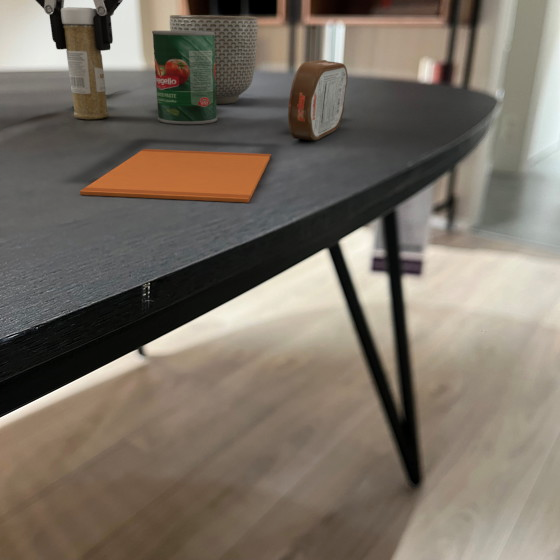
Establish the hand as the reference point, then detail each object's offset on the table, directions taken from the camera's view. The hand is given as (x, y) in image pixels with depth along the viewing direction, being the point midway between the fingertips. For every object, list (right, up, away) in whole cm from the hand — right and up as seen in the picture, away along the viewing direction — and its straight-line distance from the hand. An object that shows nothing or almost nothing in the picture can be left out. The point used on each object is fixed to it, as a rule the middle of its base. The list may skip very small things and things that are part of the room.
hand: (83, 47), depth 74 cm
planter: (+15, 0, +22) cm, 26 cm away
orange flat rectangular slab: (+17, -21, -23) cm, 36 cm away
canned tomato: (+13, -8, +4) cm, 16 cm away
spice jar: (0, -8, +4) cm, 9 cm away
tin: (+30, -13, -5) cm, 33 cm away
